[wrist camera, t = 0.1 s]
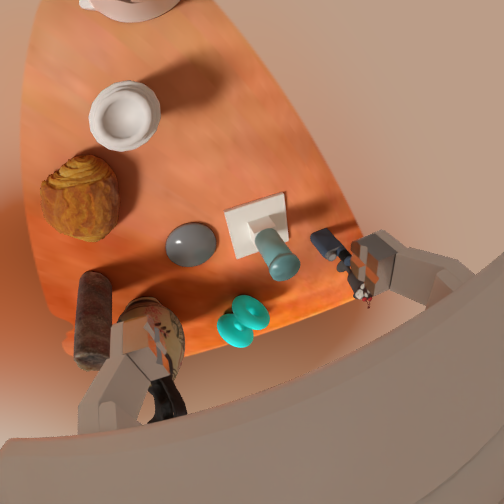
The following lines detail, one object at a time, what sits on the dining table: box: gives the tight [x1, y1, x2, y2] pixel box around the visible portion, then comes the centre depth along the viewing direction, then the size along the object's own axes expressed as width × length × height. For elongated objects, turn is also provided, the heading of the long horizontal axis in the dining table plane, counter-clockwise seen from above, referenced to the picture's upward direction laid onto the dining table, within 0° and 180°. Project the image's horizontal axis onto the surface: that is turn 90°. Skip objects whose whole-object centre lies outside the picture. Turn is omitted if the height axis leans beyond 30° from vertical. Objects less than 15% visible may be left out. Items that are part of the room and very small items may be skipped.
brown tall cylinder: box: [74, 271, 112, 371], centre depth 46 cm, size 8×7×20 cm
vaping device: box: [310, 228, 352, 266], centre depth 61 cm, size 3×5×12 cm, turn 102°
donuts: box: [217, 295, 270, 348], centre depth 68 cm, size 10×10×10 cm
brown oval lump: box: [40, 155, 120, 242], centre depth 39 cm, size 14×16×8 cm
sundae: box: [337, 261, 373, 308], centre depth 70 cm, size 7×7×15 cm
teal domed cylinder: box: [255, 228, 300, 281], centre depth 51 cm, size 5×5×9 cm
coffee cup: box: [89, 80, 161, 152], centre depth 32 cm, size 9×9×12 cm
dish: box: [166, 223, 216, 267], centre depth 55 cm, size 10×10×1 cm
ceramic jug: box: [117, 297, 187, 424], centre depth 51 cm, size 17×15×30 cm
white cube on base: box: [224, 192, 289, 259], centre depth 56 cm, size 12×12×5 cm
